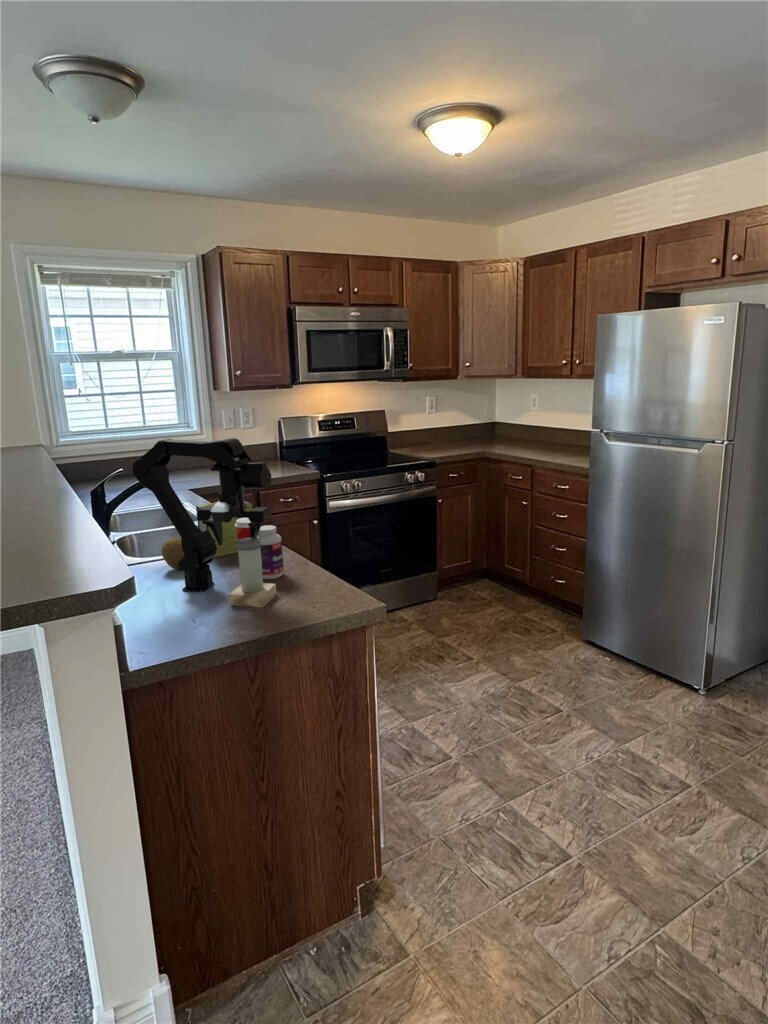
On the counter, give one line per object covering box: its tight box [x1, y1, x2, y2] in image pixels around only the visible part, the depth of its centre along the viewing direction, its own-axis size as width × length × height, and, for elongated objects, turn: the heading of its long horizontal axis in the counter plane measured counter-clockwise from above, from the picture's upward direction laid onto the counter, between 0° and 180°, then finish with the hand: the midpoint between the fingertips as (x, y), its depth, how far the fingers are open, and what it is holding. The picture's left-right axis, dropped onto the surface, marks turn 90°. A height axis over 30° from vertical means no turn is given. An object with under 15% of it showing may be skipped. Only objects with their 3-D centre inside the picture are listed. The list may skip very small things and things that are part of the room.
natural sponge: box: [160, 536, 185, 571], centre depth 188 cm, size 9×9×10 cm
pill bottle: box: [257, 525, 285, 580], centre depth 179 cm, size 8×8×14 cm
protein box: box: [195, 500, 253, 559], centre depth 205 cm, size 10×15×16 cm
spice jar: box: [237, 537, 264, 593], centre depth 161 cm, size 6×6×13 cm
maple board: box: [228, 582, 277, 608], centre depth 163 cm, size 9×9×3 cm
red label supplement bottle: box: [235, 518, 251, 540], centre depth 190 cm, size 8×8×14 cm
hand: (236, 545), depth 166 cm, fingers open, 9 cm apart
